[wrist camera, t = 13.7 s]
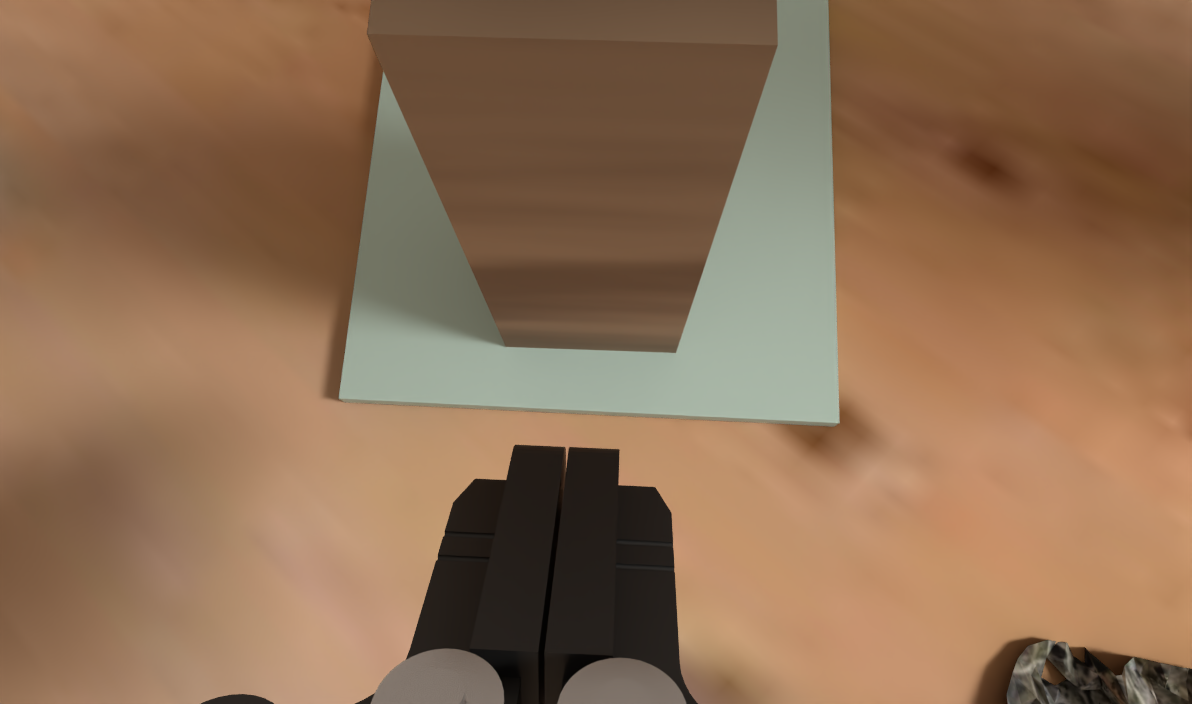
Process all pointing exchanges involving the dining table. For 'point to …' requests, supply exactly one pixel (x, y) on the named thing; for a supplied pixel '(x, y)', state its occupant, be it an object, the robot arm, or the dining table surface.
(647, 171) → the walnut block
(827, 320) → the mat
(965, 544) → the dining table surface
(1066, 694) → the stone fragment
